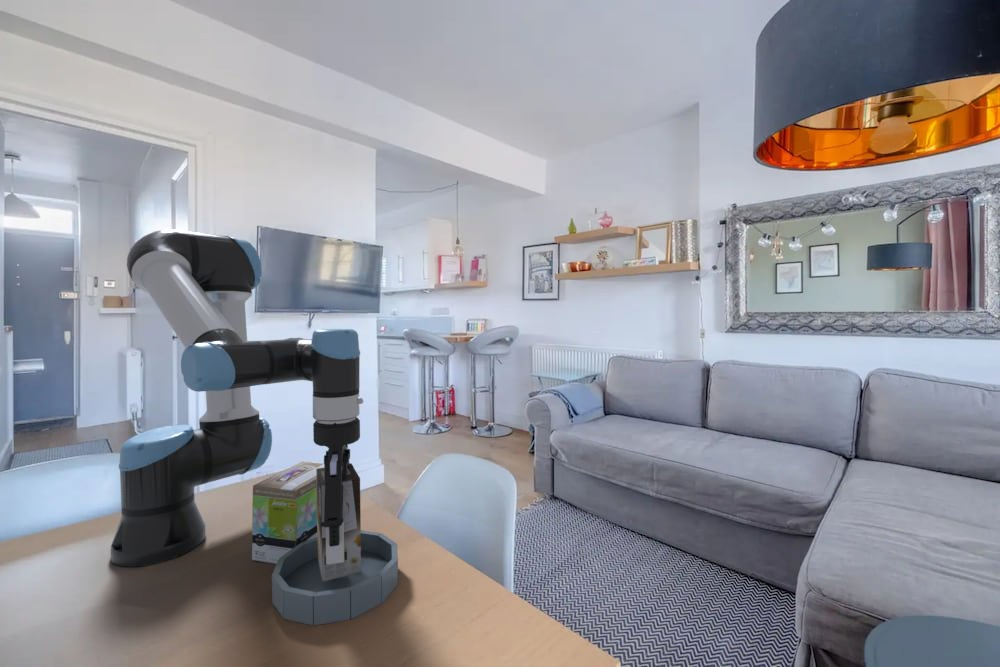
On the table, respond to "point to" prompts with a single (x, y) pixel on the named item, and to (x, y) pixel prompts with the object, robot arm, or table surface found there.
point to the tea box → (284, 512)
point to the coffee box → (350, 526)
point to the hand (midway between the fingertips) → (338, 545)
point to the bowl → (334, 582)
